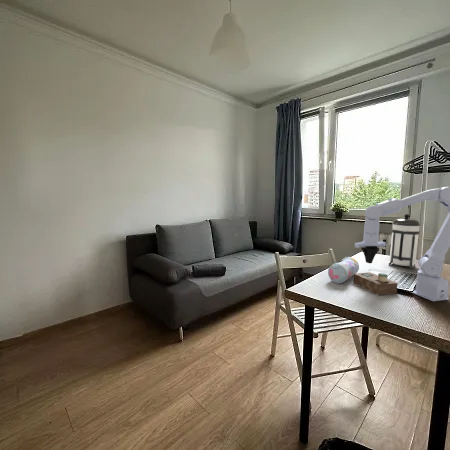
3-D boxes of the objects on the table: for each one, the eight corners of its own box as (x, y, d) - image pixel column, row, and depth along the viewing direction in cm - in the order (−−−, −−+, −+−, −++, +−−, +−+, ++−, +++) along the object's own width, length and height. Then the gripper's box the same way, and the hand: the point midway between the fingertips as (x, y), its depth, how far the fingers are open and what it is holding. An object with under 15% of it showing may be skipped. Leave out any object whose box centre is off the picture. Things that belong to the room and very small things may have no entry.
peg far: (372, 285, 107) (372, 276, 107) (366, 285, 107) (366, 276, 106) (366, 282, 110) (367, 273, 110) (360, 283, 110) (361, 274, 109)
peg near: (388, 285, 99) (389, 275, 99) (382, 285, 98) (382, 276, 98) (381, 282, 102) (382, 272, 102) (375, 282, 101) (376, 273, 101)
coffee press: (378, 262, 145) (383, 212, 141) (405, 262, 144) (410, 213, 140) (398, 271, 128) (403, 215, 124) (428, 271, 127) (435, 215, 123)
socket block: (396, 293, 99) (397, 283, 98) (378, 295, 97) (379, 284, 96) (369, 281, 112) (370, 272, 112) (353, 282, 110) (353, 273, 110)
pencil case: (341, 271, 127) (342, 254, 126) (359, 275, 121) (360, 257, 120) (326, 281, 112) (327, 262, 111) (346, 286, 106) (347, 266, 105)
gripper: (377, 231, 110) (375, 259, 112) (350, 232, 107) (348, 261, 109) (390, 233, 104) (388, 263, 105) (362, 234, 101) (360, 265, 102)
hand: (368, 262), depth 107 cm, fingers closed
